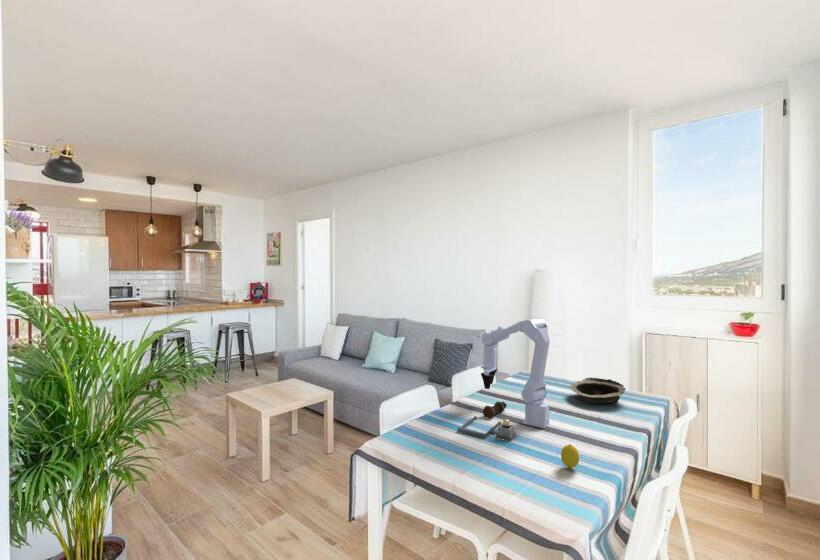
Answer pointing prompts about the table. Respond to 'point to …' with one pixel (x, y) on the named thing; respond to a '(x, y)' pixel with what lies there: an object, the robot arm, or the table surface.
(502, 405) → the bolt
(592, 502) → the table surface
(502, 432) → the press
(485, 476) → the table surface
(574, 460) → the lemon
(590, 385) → the stone bowl
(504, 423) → the press pin
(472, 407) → the table surface
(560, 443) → the table surface
